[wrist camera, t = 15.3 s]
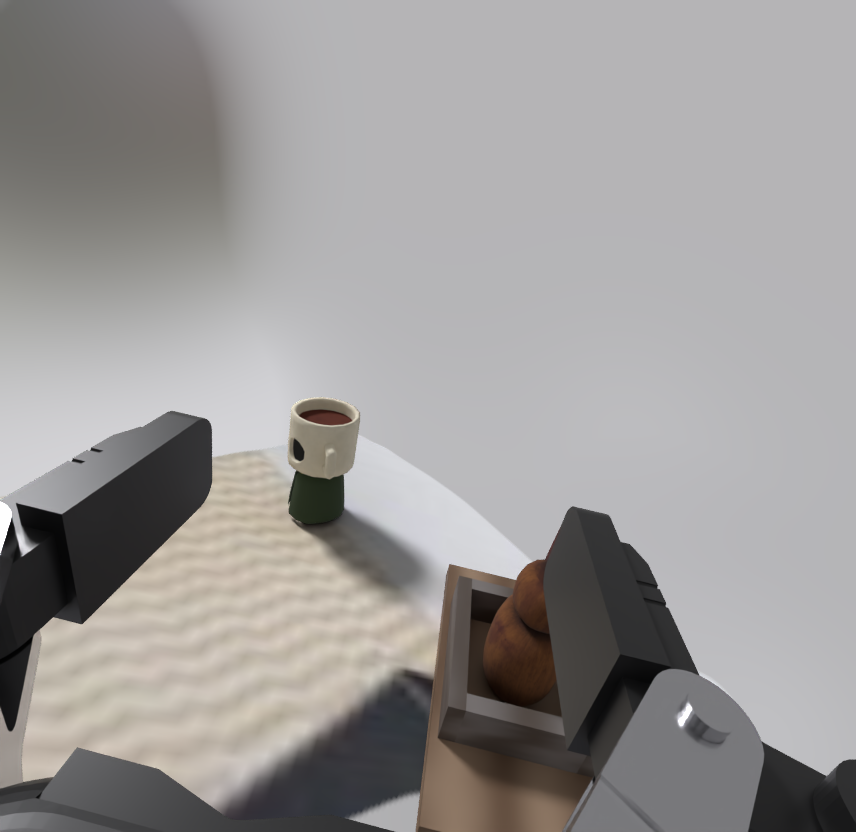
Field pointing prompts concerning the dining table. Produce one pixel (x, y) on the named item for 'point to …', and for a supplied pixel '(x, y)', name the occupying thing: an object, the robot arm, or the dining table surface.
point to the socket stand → (491, 732)
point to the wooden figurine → (521, 642)
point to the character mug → (320, 457)
